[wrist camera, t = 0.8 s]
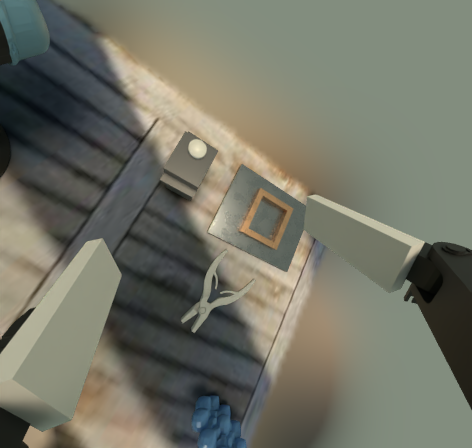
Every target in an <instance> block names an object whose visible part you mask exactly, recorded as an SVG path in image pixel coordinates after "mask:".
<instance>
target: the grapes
mask: <svg viewBox="0 0 472 448" xmlns="http://www.w3.org/2000/svg"><path fill="white" fill-rule="evenodd" d="M230 415H231V412H230V406H229V405H220V406H219V396H215V395H211V396H201V397H199V398H198V400H197V401H196V406H195V412H194V413H193V416H192V430H193V431H194V432H196V433H200V435H199V438H198V448H246V440H245V439H242V438H240V436H241V427H240V422H239V421H236V420H231V421H230Z"/></svg>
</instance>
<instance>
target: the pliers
mask: <svg viewBox="0 0 472 448" xmlns="http://www.w3.org/2000/svg"><path fill="white" fill-rule="evenodd" d="M227 252H228V251H227V250H224V251H223V252H222V253H221V254H220V255H218V256H217V258H216V259H215V260H214V261H213V262H212V264H211V266H210V267H209V269H208V271H207V273H206V276H205V279H204V289H203V293H202V296H201V298H200V301H199V302H198V303H196V304H195V305H194V306H193V307H192V308H190V309H189V310H188V311H187V312H186V313H185V314H184V315H183V316H182V317H181V321H182V323H184V322H186V321H187V320H188V319H190V318H191V317H193V316H194V315H196V314H197V313H198V312H199V315H198V317H197V318H196V320H195V322H194V324H193V326H192V327H191V331H192V332H194V333H195V332H196V330H197V329H198V328H199V327H200V325H201V324H202V323H203V322H204V320H205V319H206V318H207V316H208V314H209V313H210V311H211V310H212V309H213V308H214V307H217V306H220V305H227V304H230V303H232V302H234V301H236V300H238V299H239V298H241V297H242V296H243V295H244V294H245V293H246V292H247V291H248V290H249V289H250V288H251V287H252V285H253V284H254V282H255V281H256V280H255V279H253V280H252V281H251V282H249V283H248V284H247V285H246V286H245V287H244V288H242V289H241V290H240V291H238V292H234V291H231V290H225V291H222V292H219V293H220V294H222V293H226V292H229V293H232V294H233V295H231V296H227V297H221V298H217V299H216V300H214V301H213V302H211V303H209V302H207V300H208V298H209V296H210V292H211V282H212V277H213V274H214V276H215V278H216V285H215V289H216V288H217V284H218V278H217V274H216V268H217V266H218V264H219V263H220V261H221V260H222V258H223V257H224V256H225V254H226V253H227Z"/></svg>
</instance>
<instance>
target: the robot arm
mask: <svg viewBox="0 0 472 448" xmlns="http://www.w3.org/2000/svg"><path fill="white" fill-rule="evenodd" d="M49 38H50V36H49V32H48V28H47V25H46V23H45V20H44V18H43V15H42V13H41V11H40V8H39V6H38V4H37V2H36V0H0V65H2V64H6V63H8V64H9V65H11V66H13V65H16V64H17V63H18V62H19V61H20V60H23V59H26V58H30V57H33V56H36V55H40V54H43V53H44V52H46V51H47V50H48V47H49V44H50V39H49ZM9 158H10V144H9V140H8V137H7V135H6V133H5V131H4V129H3V127H2V126H1V125H0V176H1V175H2V174H3V173H4V171H5V169H6V167H7V165H8V162H9ZM303 230H305V231H306V232H307V233H309V234H310V235H312V236H313V237H314V238H316V239H317V240H318V241H320V242H321V243H322V244H324V245H325V246H326V247H328V248H329V249H330V250H332V251H333V252H335V253H336V254H337V255H338V256H340V257H341V258H342V259H344V260H345V261H346V262H348V263H349V264H351V265H352V266H353V267H355V268H356V269H358V270H359V271H360V272H361V273H363V274H364V275H366V276H367V277H368V278H369V279H371V280H372V281H373V282H375V283H376V284H378V285H379V286H380V287H381V288H383V289H384V290H386V291H387V292H388V293H391V292H394V291H396V290H399V289H401V288H402V286H403V284H404V282H405V280H406V279H407V280H409V281H410V282H412V284H411V285H410V287H409V289H408V291H407V293H406V295H405V296H404V301H408V300H409V298H410V296H414V298H413V299H412V303H416V304H418V306H419V308H420V310H421V312H422V314H423V316H424V318H425V320H426V322H427V323H428V325H429V327H430V329H431V331H432V333H433V335H434V337H435V339H436V341H437V343H438V345H439V347H440V349H441V351H442V353H443V355H444V357H445V359H446V361H447V362H448V364H449V366H450V368H451V370H452V372H453V374H454V376H455V378H456V380H457V382H458V384H459V386H460V388H461V390H462V392H463V394H464V396H465V398H466V400H467V402H468V403H469V405H470V407H471V409H472V250H470V249H468V248H465V247H462V246H459V245H456V244H452V243H446V242H437V243H434V244H433V245H430V244H428V243H425V242H423V241H421V240H419V239H417V238H414V237H412V236H410V235H407V234H405V233H403V232H401V231H398V230H396V229H394V228H391V227H389V226H387V225H385V224H382V223H380V222H378V221H376V220H373V219H371V218H368V217H366V216H364V215H362V214H359V213H357V212H355V211H353V210H350V209H348V208H346V207H343V206H341V205H339V204H337V203H334V202H332V201H330V200H327V199H325V198H323V197H321V196H318V195H312V196H307V203H306V211H305V220H304V228H303ZM121 276H122V275H121V273H120V271H119V269H118V267H117V265H116V263H115V261H114V259H113V257H112V255H111V253H110V252H109V250H108V248H107V246H106V244H105V242H104V240H103V238H102V239H97V240H92V241H87V242H86V243H85V244H84V246H83V247H82V248H81V250H80V251H79V252H78V254H77V255H76V256H75V257H74V259H73V260H72V261H71V263H70V264H69V265H68V267H67V268H66V269H65V270H64V272H63V273H62V274H61V276H60V277H59V278H58V280H57V281H56V282H55V283H54V285H53V286H52V287H51V289H50V290H49V291H48V293H47V294H46V295H45V296H44V298H43V299H42V300H41V302H40V303H39V304H38V306H37V307H35V308H32V309H29V310H28V311H27V312H26V313H25V314H24V315H22V316H21V317H20V318H19V319H18V320H16V321H15V322H14V323H13V324H12V325H11V327H10V328H9V329H8V330H7V331H6V333H5V334H4V335H3V336H2V340H0V448H29V447H28V446H27V445H26V444H25V443H24V442H23V439H24V436H25V434H26V432H27V430H28V428H29V426H30V425H31V426H33V427H34V428H36V429H38V430H40V431H42V432H43V431H45V430H48V429H50V428H53V427H55V426H58V425H60V424H63V423H65V422H68V421H70V420H72V418H73V415H74V412H75V409H76V406H77V403H78V400H79V398H80V395H81V392H82V389H83V386H84V383H85V380H86V377H87V374H88V371H89V369H90V366H91V363H92V360H93V357H94V354H95V351H96V348H97V345H98V343H99V340H100V337H101V334H102V331H103V328H104V325H105V322H106V319H107V317H108V314H109V311H110V308H111V305H112V302H113V299H114V296H115V293H116V291H117V288H118V285H119V282H120V279H121Z"/></svg>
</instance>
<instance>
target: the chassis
mask: <svg viewBox="0 0 472 448" xmlns="http://www.w3.org/2000/svg"><path fill="white" fill-rule="evenodd" d="M305 211H306V206H305V205H304V204H302V203H301V202H299V201H298V200H296V199H295V198H293V197H292V196H290V195H288V194H287V193H285V192H284V191H282V190H281V189H279V188H278V187H276V186H275V185H273V184H272V183H270V182H269V181H267V180H266V179H264V178H263V177H261V176H260V175H258V174H257V173H255V172H253V171H252V170H250V169H249V168H247V167H246V166H244V165H243V164H241V165H240V167H239V169H238V171H237V173H236V175H235V177H234V179H233V181H232V183H231V185H230V187H229V189H228V191H227V193H226V195H225V197H224V199H223V201H222V203H221V205H220V207H219V209H218V211H217V213H216V215H215V217H214V219H213V221H212V223H211V225H210V227H209V229H208V231H207V232H208V233H210V234H212V235H214V236H216V237H218V238H220V239H222V240H224V241H226V242H228V243H230V244H232V245H234V246H236V247H238V248H240V249H242V250H244V251H246V252H248V253H249V254H251V255H253V256H255V257H257V258H259V259H261V260H263V261H265V262H267V263H269V264H271V265H273V266H275V267H277V268H279V269H281V270H283V271H286V272H287V271H288V269H289V266H290V263H291V261H292V258H293V256H294V253H295V251H296V248H297V245H298V243H299V240H300V238H301V235H302V233H303V228H304V220H305Z"/></svg>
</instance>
